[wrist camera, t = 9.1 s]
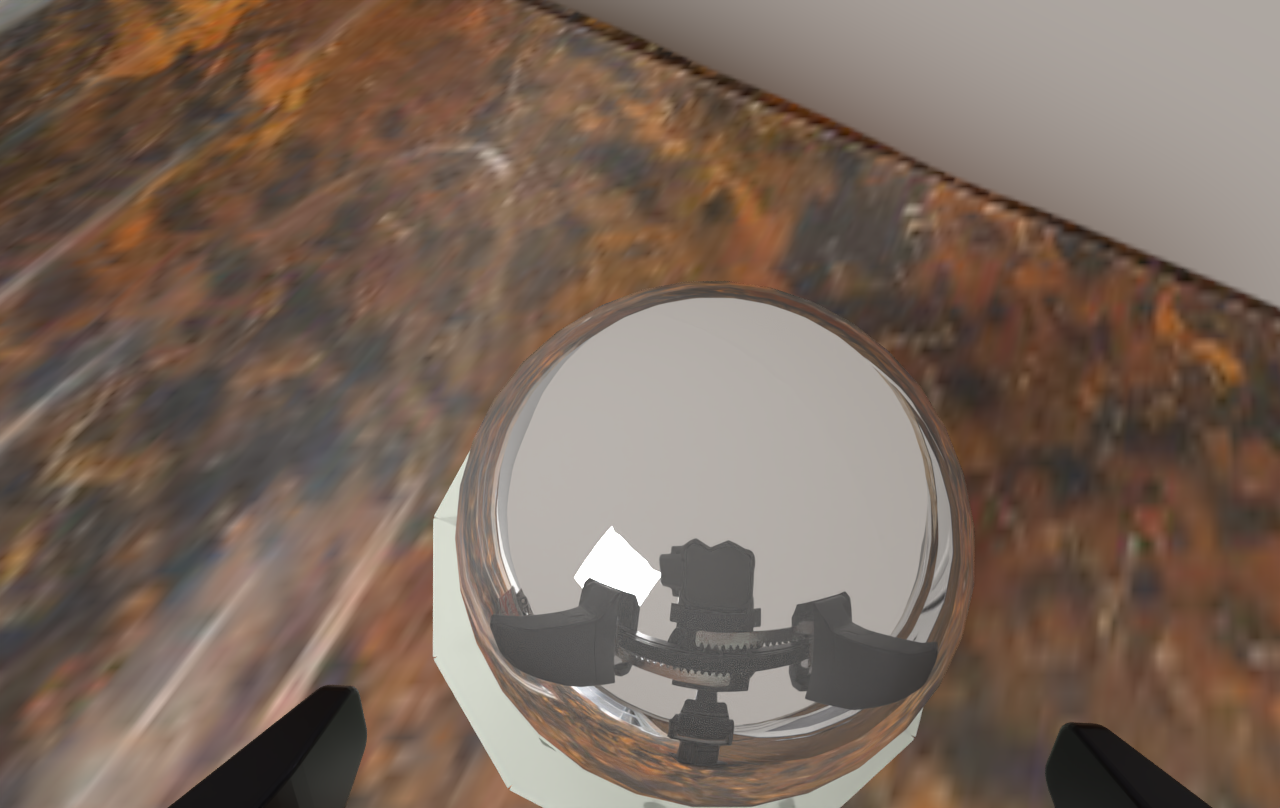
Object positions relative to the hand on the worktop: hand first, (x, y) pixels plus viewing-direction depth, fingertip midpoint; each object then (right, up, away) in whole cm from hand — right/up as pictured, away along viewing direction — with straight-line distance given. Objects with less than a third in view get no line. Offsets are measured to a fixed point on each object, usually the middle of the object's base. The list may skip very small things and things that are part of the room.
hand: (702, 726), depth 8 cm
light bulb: (0, -1, +9) cm, 9 cm away
